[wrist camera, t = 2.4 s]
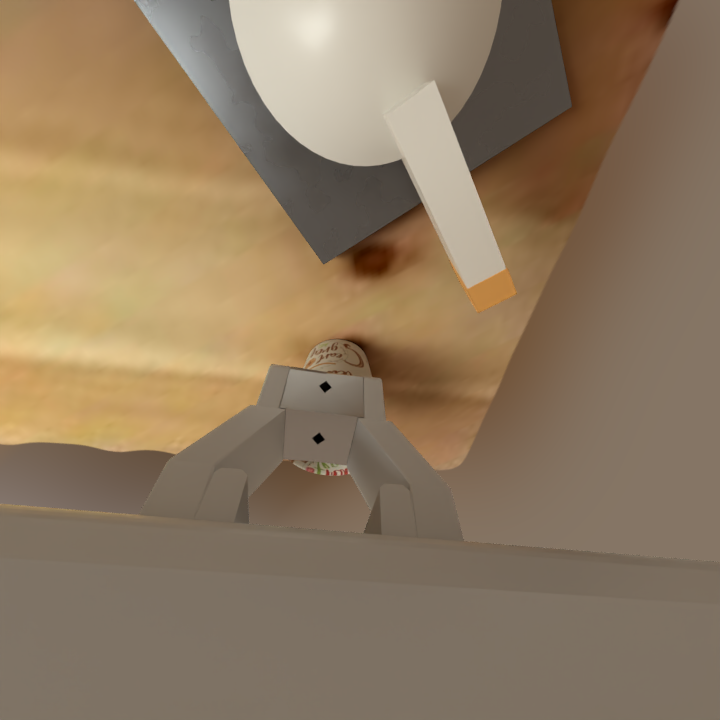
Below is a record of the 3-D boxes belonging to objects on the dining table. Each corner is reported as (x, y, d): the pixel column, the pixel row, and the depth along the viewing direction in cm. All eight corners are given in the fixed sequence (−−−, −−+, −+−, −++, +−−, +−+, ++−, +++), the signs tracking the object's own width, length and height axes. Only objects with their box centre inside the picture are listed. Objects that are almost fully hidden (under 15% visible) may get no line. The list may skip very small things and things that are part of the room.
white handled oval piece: (196, -28, 14) (132, -80, 10) (415, -273, 11) (451, -493, 7) (401, 304, 23) (411, 346, 19) (550, 223, 20) (599, 253, 16)
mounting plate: (125, -29, 18) (47, -75, 13) (440, -419, 12) (493, -730, 8) (325, 255, 27) (319, 286, 23) (556, 106, 22) (611, 107, 17)
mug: (391, 340, 32) (404, 418, 24) (353, 426, 40) (353, 508, 32) (305, 318, 31) (288, 393, 23) (281, 411, 38) (262, 494, 30)
